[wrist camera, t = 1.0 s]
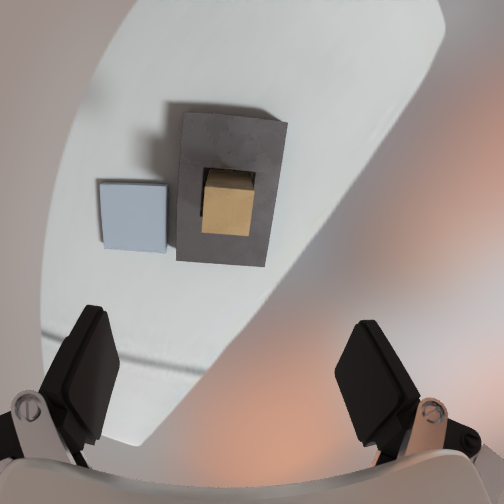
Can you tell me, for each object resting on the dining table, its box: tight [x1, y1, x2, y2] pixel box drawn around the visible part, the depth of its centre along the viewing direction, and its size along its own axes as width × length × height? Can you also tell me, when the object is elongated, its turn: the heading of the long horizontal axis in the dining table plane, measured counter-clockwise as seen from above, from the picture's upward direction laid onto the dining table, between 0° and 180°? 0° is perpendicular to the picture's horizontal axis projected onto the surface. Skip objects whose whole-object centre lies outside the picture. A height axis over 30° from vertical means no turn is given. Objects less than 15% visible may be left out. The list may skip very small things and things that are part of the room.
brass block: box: [202, 169, 255, 236], centre depth 26 cm, size 4×4×8 cm
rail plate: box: [176, 112, 288, 267], centre depth 29 cm, size 16×10×2 cm, turn 173°
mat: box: [100, 182, 168, 253], centre depth 30 cm, size 8×8×1 cm
